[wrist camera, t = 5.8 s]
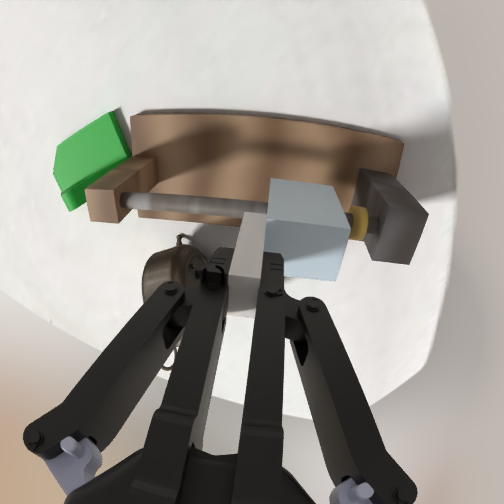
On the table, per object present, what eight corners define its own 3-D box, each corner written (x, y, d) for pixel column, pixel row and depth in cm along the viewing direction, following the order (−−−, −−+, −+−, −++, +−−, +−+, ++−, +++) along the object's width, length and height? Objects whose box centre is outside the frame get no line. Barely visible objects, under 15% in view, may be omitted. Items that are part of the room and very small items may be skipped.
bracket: (114, 110, 26) (78, 122, 20) (139, 169, 30) (110, 192, 24) (51, 151, 29) (17, 170, 23) (73, 200, 33) (44, 225, 27)
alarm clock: (164, 230, 34) (103, 329, 21) (202, 218, 33) (152, 324, 19) (201, 295, 40) (169, 397, 26) (236, 288, 38) (214, 397, 25)
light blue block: (266, 222, 24) (260, 273, 19) (270, 178, 22) (266, 218, 16) (323, 229, 24) (335, 281, 18) (332, 186, 22) (351, 229, 16)
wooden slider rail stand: (142, 212, 33) (100, 263, 24) (135, 114, 26) (77, 137, 18) (374, 237, 32) (401, 297, 23) (399, 140, 25) (449, 172, 16)
